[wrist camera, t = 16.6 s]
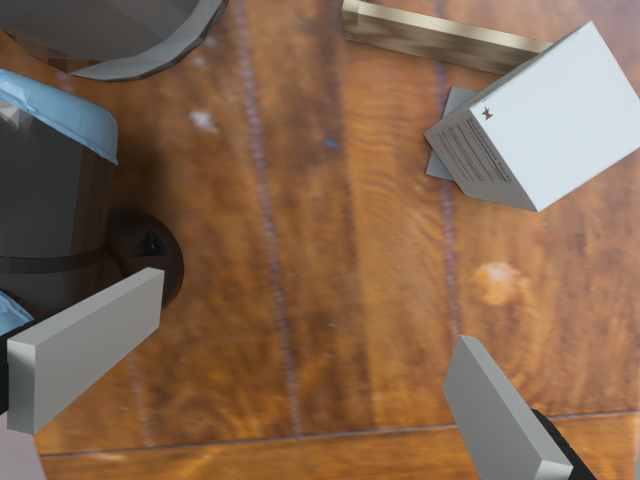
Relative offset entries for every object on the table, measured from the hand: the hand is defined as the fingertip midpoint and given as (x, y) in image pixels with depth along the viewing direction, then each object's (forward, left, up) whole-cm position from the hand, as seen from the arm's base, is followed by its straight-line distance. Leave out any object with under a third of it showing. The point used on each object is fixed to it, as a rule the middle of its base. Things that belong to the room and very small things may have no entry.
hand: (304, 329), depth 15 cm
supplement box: (+13, +13, -29) cm, 35 cm away
